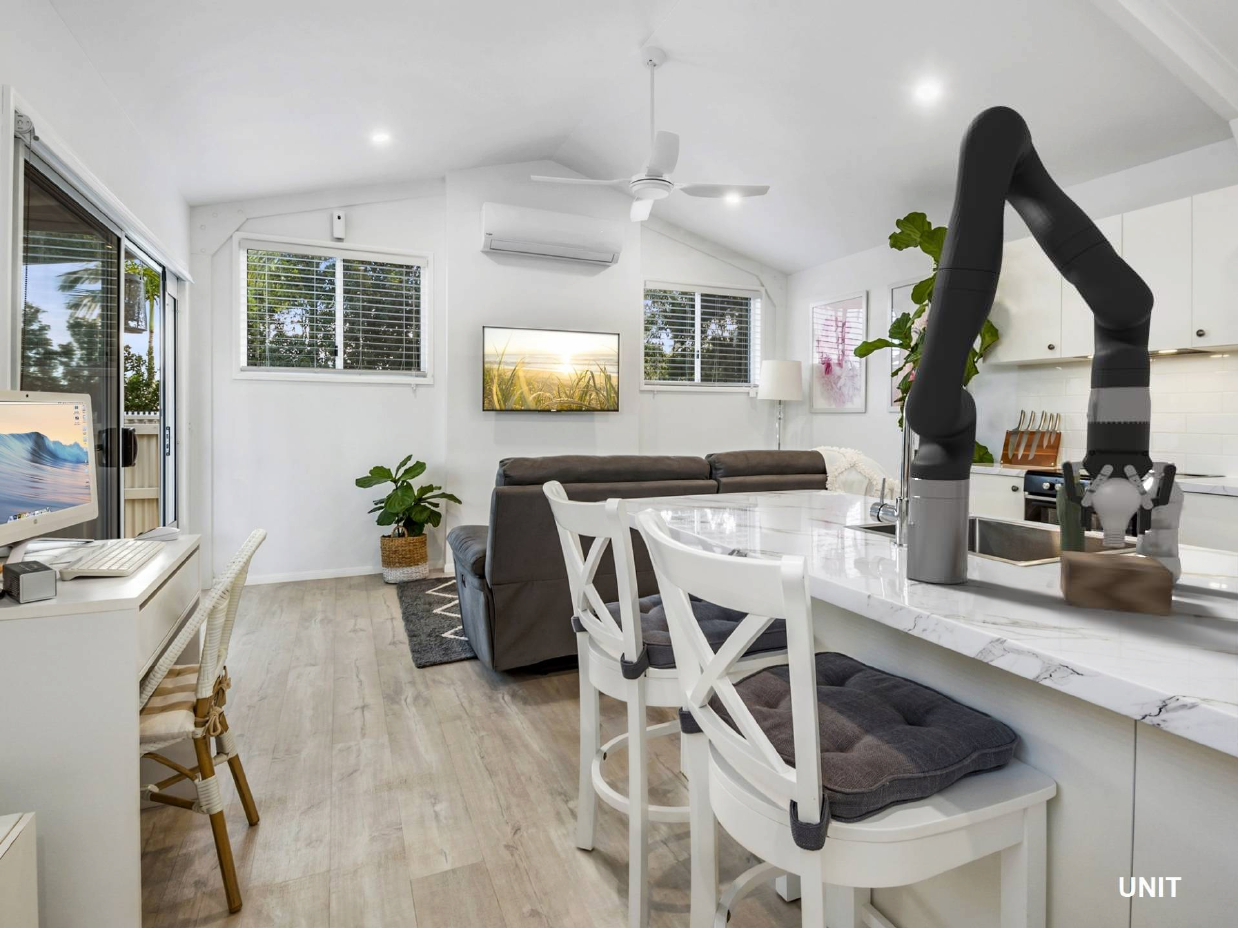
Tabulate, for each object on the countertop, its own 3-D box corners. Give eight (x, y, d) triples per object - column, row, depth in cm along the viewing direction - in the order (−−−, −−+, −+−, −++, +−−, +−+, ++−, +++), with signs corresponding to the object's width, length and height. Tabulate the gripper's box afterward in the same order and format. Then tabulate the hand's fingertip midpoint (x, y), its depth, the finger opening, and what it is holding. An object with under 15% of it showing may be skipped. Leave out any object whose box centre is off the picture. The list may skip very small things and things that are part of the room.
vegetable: (1088, 579, 116) (1093, 461, 115) (1060, 578, 117) (1064, 461, 115) (1076, 573, 120) (1080, 460, 119) (1049, 572, 121) (1053, 460, 120)
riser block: (1067, 605, 100) (1069, 564, 100) (1060, 587, 111) (1061, 550, 110) (1171, 615, 94) (1173, 573, 94) (1152, 595, 105) (1154, 557, 105)
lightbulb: (1078, 545, 105) (1080, 474, 105) (1120, 545, 105) (1122, 474, 104) (1106, 553, 99) (1108, 477, 98) (1151, 553, 99) (1153, 477, 98)
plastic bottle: (1138, 586, 111) (1143, 463, 110) (1125, 577, 117) (1130, 461, 116) (1187, 590, 108) (1193, 464, 107) (1171, 580, 115) (1177, 461, 113)
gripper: (1062, 419, 101) (1058, 532, 102) (1186, 418, 94) (1181, 540, 95) (1058, 419, 108) (1054, 525, 109) (1174, 418, 101) (1169, 532, 102)
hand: (1114, 531), depth 102 cm, fingers closed on lightbulb, 6 cm apart
